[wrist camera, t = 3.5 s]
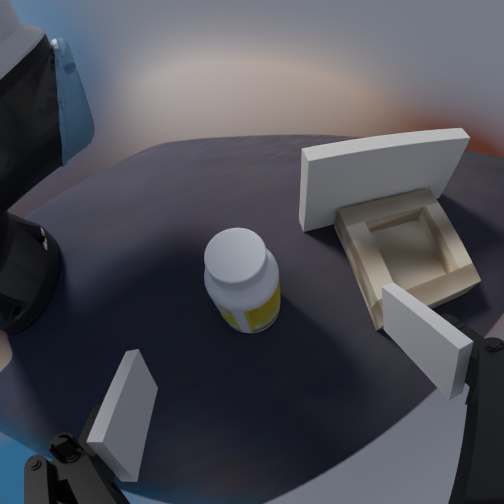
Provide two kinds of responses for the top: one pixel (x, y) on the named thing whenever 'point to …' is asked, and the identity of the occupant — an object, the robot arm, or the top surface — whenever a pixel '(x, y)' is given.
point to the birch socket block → (405, 250)
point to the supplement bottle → (242, 279)
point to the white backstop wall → (375, 171)
